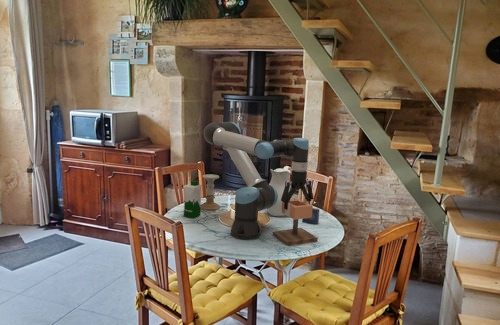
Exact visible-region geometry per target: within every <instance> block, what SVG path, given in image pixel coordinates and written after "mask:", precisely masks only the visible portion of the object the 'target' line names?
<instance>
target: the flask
mask: <svg viewBox="0 0 500 325" xmlns="http://www.w3.org/2000/svg"><path fill="white" fill-rule="evenodd" d="M311 205H312V206H313V208H312V218H304V219H301V220H302V223H304V224H308V225H309V224H310V225H316V226H317V225H319V224H320V223H319V222H320V208H318V207H314V204H311Z"/></svg>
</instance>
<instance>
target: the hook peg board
mask: <svg viewBox="0 0 500 325" xmlns="http://www.w3.org/2000/svg"><path fill="white" fill-rule="evenodd" d="M272 236H273V237H274V238H275V239H277V240H278V241H280V242H281V243H282V244H284V245H285V246H287V247H291V246H297V245H298V246H299V245H305V244H311V243H317V242H318V240H319V237H317V236H316V235H314V234H312V233H310V232H309V231H307V230H306V229H304V228H303V227H299V219H296V220H294V219H292V228H289V229H281V230H275V231H272Z"/></svg>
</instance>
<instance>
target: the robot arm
mask: <svg viewBox="0 0 500 325" xmlns="http://www.w3.org/2000/svg"><path fill="white" fill-rule="evenodd" d="M241 133H242V131H241V128H240V126H239V125H238V124H237V123H236V122H232V121H224V122H211V123H209V124H207V125H206V126H205V128H204V129H203V138H204V140H205V141H206V142H207V143H209V144H210V145H213V146H217V147H218V146H219V147H220V146H221V147H222V149H223V150H224V151H226V152H228V154H229V156H230V158H231V159H232V162H233V163H234V165H235V167H236V169H237V170H238V172H239V174H240V176H241V177H242V179H243V181H244V183H245V185H246V186H244V187H240V188H238V189H237V190H236V192H235V197H234V219H233V222H232V225H231V227H230V236H231V237H233V238H235V239H238V240H246V241H247V240H256V239H258V238H260V237H261V226H260V223H259V220H258V219H259V212H261V211H264V210H267V209H268V208H270V207H272V206H274V205H275V204H276V202H277V198H278V193H277V190H276V189H275V187H273V186H271V185H269V182H268V181H267V180H266V179H264V178H262V177H261V175H260V173H259V172H258V170H257V169H256V167H255V165H254V163H253V162H252V160H251V158H250V157H249V155H248V154H251V155H255V156H257V158H259V159H262V160H263V159H264V160H268V159H271V158H278V157H288V158H291V167H290V178H291V179H290V180H289V182H287V181H286V182H285V188H284V191H283V195H282V198H281V201H282V202H284V209H285V215H286V216H285V217H289V212H290V203H289V201H290V199H291V197H292V195H293V196H294V193H295V192H296V191H297V190H301V193H302V194H303V196H304V199H305V200H304V199H303V201H304V202H306V203H308V204H310V205H311V201H312V200H314V199H315V198H314V193H313V188H312V181H311V179H307V177H308V171H307V170H308V163H309V162H308V161H309V159H308V158H309V150H310V147H309V146H310V142H309V139H308V138H305V137H295V138H293V139H292V141H289V140H285V139H284V140H282V139H274V140H272V141H266V140H262V139H258V138H255V137H251V136H247V135H244V134H241ZM290 186H291V188H290ZM289 189H290V191H289Z"/></svg>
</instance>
